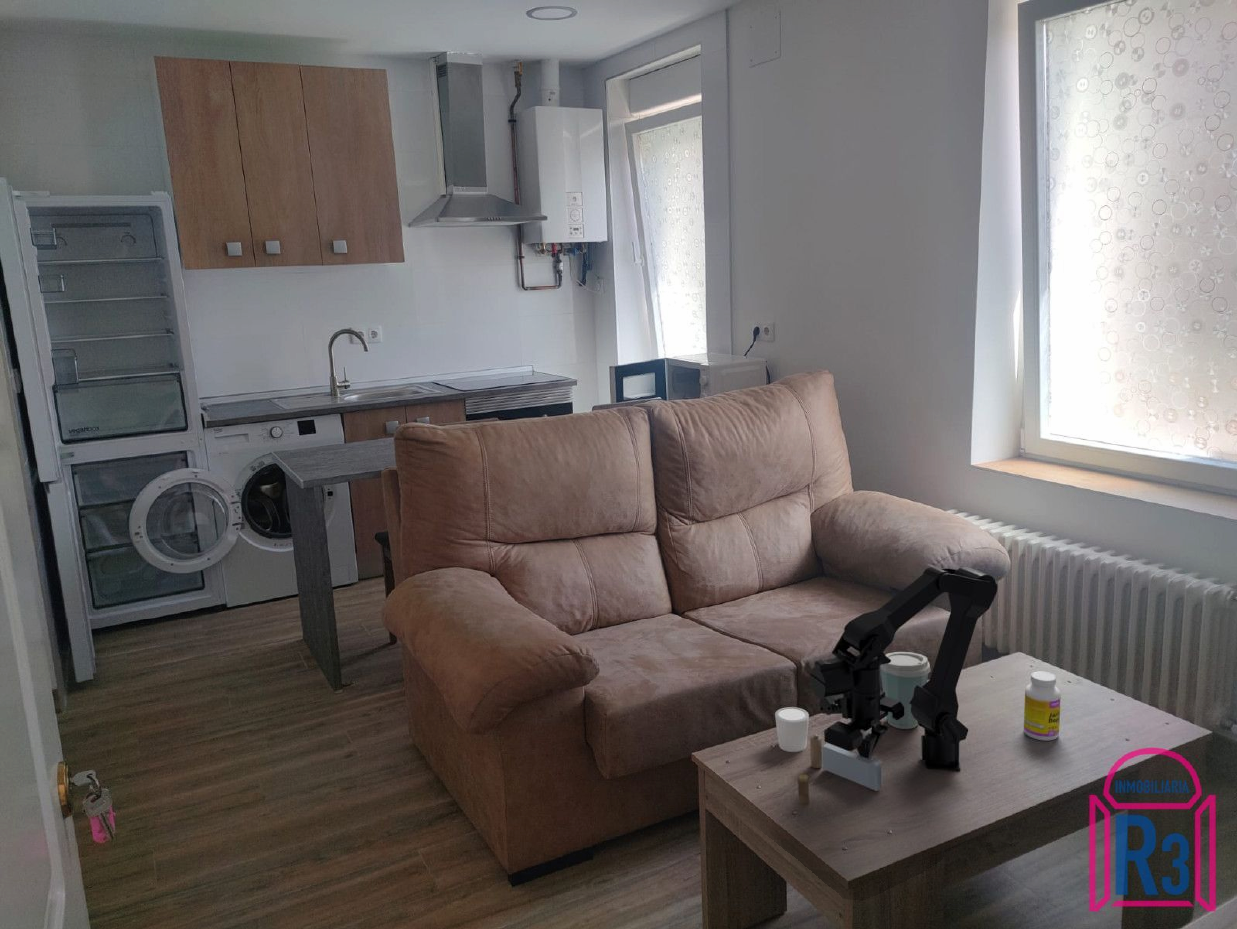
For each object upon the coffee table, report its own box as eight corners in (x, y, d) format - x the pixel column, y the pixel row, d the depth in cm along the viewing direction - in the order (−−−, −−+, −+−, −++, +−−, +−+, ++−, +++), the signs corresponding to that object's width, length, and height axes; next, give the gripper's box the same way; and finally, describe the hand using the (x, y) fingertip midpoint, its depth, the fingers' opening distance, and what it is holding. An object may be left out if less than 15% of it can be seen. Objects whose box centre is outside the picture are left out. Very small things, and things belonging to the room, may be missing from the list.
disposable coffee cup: (867, 719, 201) (867, 654, 198) (903, 706, 206) (903, 643, 203) (904, 739, 192) (904, 671, 189) (941, 724, 197) (941, 658, 194)
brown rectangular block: (808, 799, 172) (808, 774, 171) (808, 804, 170) (808, 779, 169) (799, 798, 172) (798, 774, 171) (798, 804, 170) (798, 779, 169)
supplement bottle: (1050, 745, 186) (1052, 685, 184) (1017, 734, 191) (1019, 676, 188) (1064, 733, 190) (1067, 675, 188) (1032, 723, 195) (1034, 666, 193)
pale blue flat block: (808, 765, 183) (807, 735, 182) (814, 761, 184) (814, 731, 183) (875, 792, 172) (875, 761, 171) (882, 788, 173) (882, 756, 172)
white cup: (809, 754, 188) (808, 722, 186) (775, 752, 189) (774, 721, 188) (809, 738, 194) (808, 707, 193) (776, 736, 196) (775, 705, 194)
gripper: (855, 659, 185) (856, 731, 188) (799, 691, 173) (801, 767, 176) (906, 675, 177) (905, 749, 180) (850, 709, 165) (851, 789, 168)
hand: (865, 762), depth 176 cm, fingers closed
